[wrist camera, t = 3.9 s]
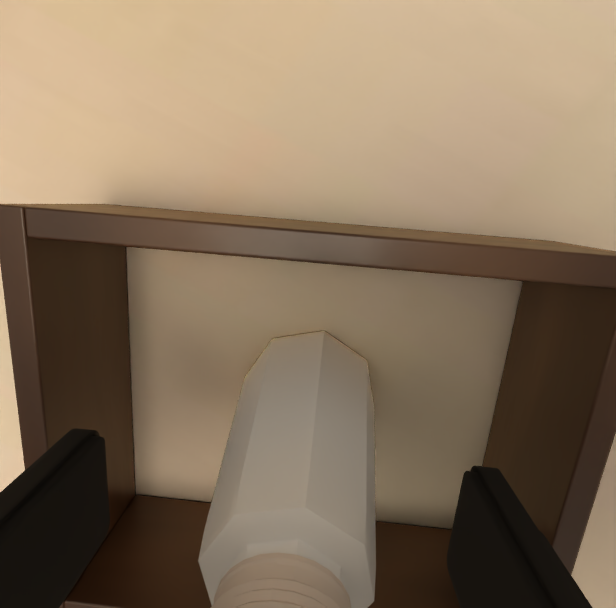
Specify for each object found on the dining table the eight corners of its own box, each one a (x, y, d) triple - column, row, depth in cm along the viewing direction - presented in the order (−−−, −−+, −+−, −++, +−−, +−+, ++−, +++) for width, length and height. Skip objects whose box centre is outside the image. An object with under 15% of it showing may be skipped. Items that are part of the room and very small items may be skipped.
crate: (554, 241, 14) (671, 260, 9) (482, 547, 17) (540, 679, 13) (103, 203, 15) (-9, 203, 10) (119, 506, 18) (41, 617, 13)
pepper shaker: (256, 314, 15) (87, 559, 5) (391, 344, 15) (525, 660, 5) (234, 432, 17) (62, 829, 6) (357, 461, 17) (401, 909, 6)
